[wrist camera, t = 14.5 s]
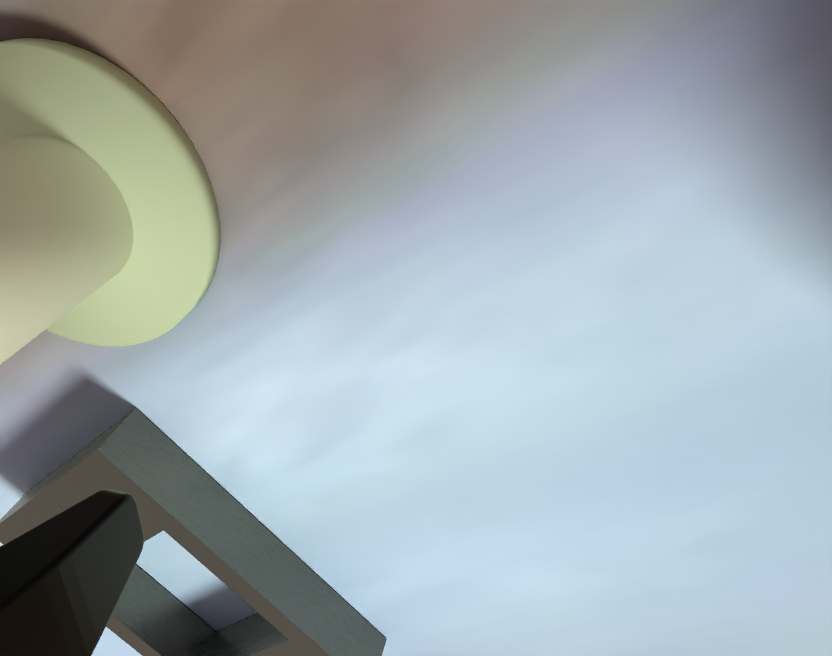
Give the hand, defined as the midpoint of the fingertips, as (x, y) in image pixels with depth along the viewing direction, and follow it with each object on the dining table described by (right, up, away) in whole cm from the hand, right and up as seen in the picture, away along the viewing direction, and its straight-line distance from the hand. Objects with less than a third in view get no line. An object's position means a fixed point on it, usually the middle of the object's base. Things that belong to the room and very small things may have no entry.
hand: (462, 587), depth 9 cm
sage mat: (-12, +7, +14) cm, 20 cm away
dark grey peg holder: (-10, -7, +23) cm, 26 cm away
